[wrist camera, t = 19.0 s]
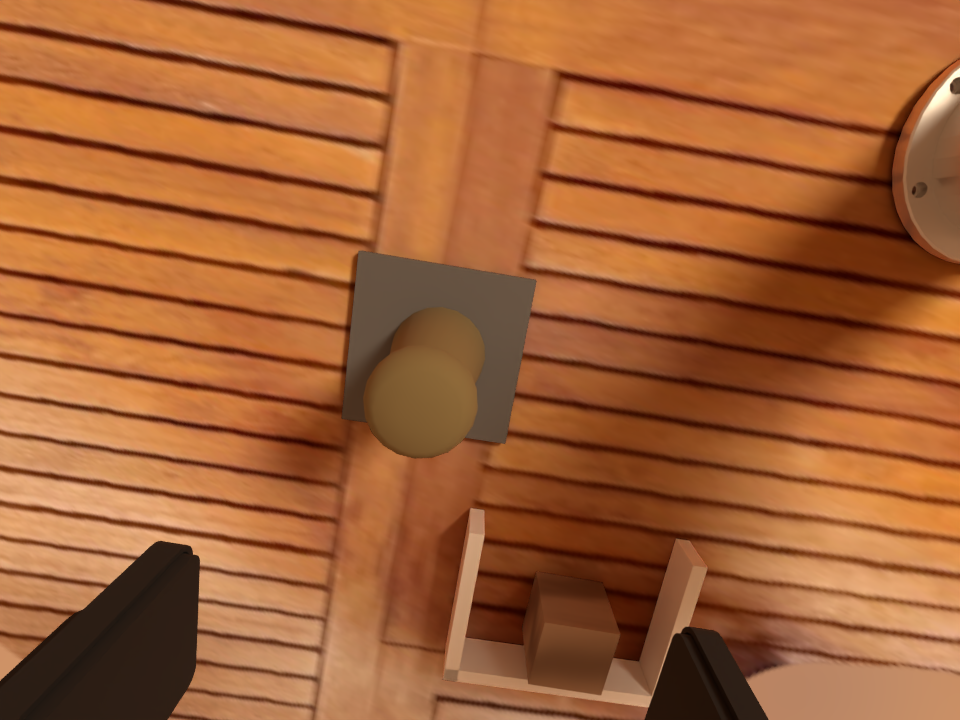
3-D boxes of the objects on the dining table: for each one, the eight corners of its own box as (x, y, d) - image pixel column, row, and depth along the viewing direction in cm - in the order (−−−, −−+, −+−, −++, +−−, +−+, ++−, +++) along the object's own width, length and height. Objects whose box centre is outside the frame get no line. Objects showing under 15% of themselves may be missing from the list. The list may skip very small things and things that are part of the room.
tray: (470, 508, 35) (469, 532, 32) (689, 540, 36) (707, 567, 33) (445, 645, 38) (442, 679, 35) (648, 673, 39) (661, 709, 36)
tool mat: (360, 250, 31) (358, 251, 30) (535, 279, 31) (536, 280, 31) (344, 415, 33) (341, 418, 33) (504, 440, 34) (505, 443, 33)
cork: (376, 376, 32) (324, 447, 21) (412, 291, 31) (376, 321, 20) (461, 412, 33) (453, 499, 22) (500, 330, 31) (511, 381, 21)
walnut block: (536, 570, 37) (544, 622, 32) (602, 581, 37) (620, 634, 32) (521, 626, 38) (528, 684, 33) (585, 636, 38) (601, 695, 33)
